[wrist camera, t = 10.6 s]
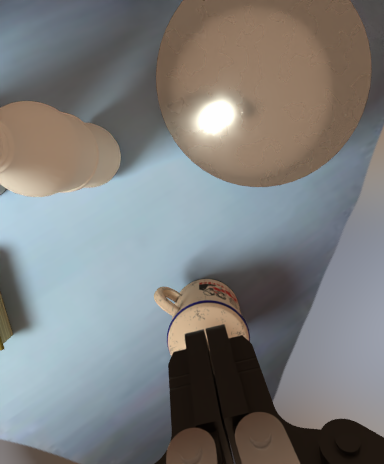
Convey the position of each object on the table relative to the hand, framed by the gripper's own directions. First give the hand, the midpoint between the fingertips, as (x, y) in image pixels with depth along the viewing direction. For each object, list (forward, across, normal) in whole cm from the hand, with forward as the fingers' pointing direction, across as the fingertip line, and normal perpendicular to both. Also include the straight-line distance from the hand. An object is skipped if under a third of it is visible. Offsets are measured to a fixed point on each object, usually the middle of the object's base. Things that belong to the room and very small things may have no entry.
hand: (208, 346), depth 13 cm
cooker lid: (+25, -10, -8) cm, 27 cm away
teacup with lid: (+28, +1, +20) cm, 34 cm away
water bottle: (+34, +9, -1) cm, 36 cm away
